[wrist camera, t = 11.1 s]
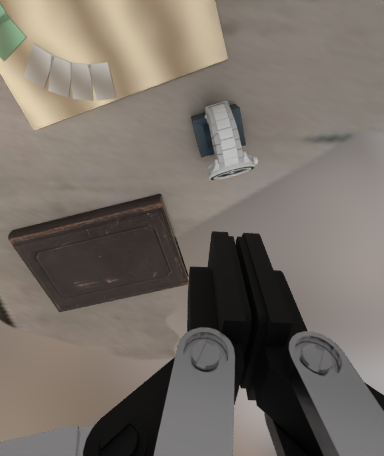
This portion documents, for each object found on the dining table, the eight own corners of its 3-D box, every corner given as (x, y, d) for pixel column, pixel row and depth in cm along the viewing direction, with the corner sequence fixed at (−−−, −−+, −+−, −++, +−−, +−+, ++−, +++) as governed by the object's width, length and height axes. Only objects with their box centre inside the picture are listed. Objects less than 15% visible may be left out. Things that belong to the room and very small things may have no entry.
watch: (203, 164, 39) (211, 199, 29) (187, 101, 34) (190, 118, 25) (244, 153, 38) (266, 184, 29) (232, 88, 34) (253, 100, 24)
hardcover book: (188, 275, 49) (189, 284, 47) (63, 302, 51) (59, 312, 49) (161, 191, 41) (160, 198, 39) (14, 228, 43) (6, 236, 41)
